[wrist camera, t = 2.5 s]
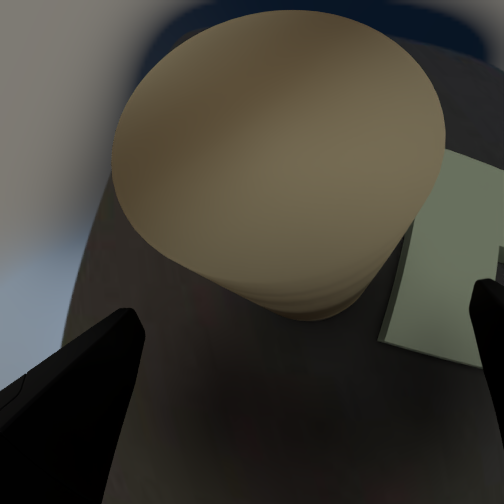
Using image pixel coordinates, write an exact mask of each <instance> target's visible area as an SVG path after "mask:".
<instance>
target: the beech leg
mask: <svg viewBox="0 0 504 504" xmlns="http://www.w3.org/2000/svg"><path fill="white" fill-rule="evenodd" d="M444 152H445V124H444V116H443V112H442V108H441V105H440V102H439V99H438V96H437V94H436V92H435V90H434V87H433V85H432V83H431V81H430V80H429V78H428V77H427V75H426V74H425V72H424V71H423V70H422V68H421V67H420V66H419V64H418V63H417V62H416V61H415V60H414V59H413V58H412V57H411V56H410V55H409V54H408V53H407V52H406V51H405V50H404V49H403V48H401V47H400V46H399V45H398V44H397V43H395V42H394V41H393V40H391V39H390V38H388V37H387V36H385V35H383V34H382V33H380V32H378V31H376V30H374V29H372V28H370V27H368V26H366V25H364V24H361V23H359V22H356V21H354V20H351V19H348V18H344V17H341V16H337V15H333V14H328V13H322V12H315V11H303V10H281V11H270V12H262V13H257V14H252V15H247V16H243V17H239V18H236V19H232V20H229V21H226V22H224V23H221V24H218V25H216V26H214V27H211V28H209V29H207V30H205V31H203V32H201V33H199V34H197V35H195V36H194V37H192V38H190V39H189V40H187V41H185V42H184V43H182V44H181V45H179V46H178V47H177V48H175V49H174V50H173V51H171V52H170V53H169V54H168V55H166V56H165V57H164V58H163V59H162V60H161V61H159V62H158V64H156V66H155V67H154V68H153V69H152V70H151V71H150V72H149V73H148V74H147V75H146V76H145V77H144V79H143V80H142V81H141V83H140V84H139V85H138V86H137V88H136V89H135V91H134V92H133V94H132V96H131V97H130V99H129V100H128V102H127V104H126V106H125V108H124V111H123V113H122V115H121V117H120V120H119V123H118V126H117V129H116V132H115V137H114V142H113V148H112V162H111V164H112V176H113V183H114V187H115V191H116V195H117V198H118V200H119V203H120V205H121V207H122V209H123V212H124V214H125V215H126V217H127V218H128V220H129V221H130V223H131V224H132V226H133V227H134V229H135V230H136V231H137V232H138V233H139V234H140V235H141V236H142V237H143V238H144V239H145V241H146V242H147V243H148V244H150V245H151V246H152V247H154V248H155V249H156V250H158V251H159V252H160V253H162V254H163V255H164V256H166V257H167V258H169V259H171V260H173V261H175V262H177V263H179V264H180V265H182V266H184V267H186V268H188V269H190V270H192V271H194V272H195V273H197V274H199V275H201V276H203V277H205V278H207V279H209V280H211V281H213V282H215V283H216V284H218V285H220V286H222V287H224V288H226V289H228V290H230V291H232V292H234V293H236V294H238V295H240V296H242V297H244V298H246V299H248V300H250V301H252V302H254V303H256V304H258V305H260V306H262V307H264V308H266V309H268V310H270V311H272V312H274V313H276V314H278V315H280V316H283V317H286V318H289V319H294V320H301V321H321V320H325V319H328V318H331V317H333V316H335V315H337V314H339V313H340V312H342V311H343V310H345V309H346V308H348V307H349V306H350V305H352V304H353V303H354V302H355V301H356V300H357V299H358V298H359V297H360V296H361V294H362V293H363V292H364V291H365V289H366V288H367V287H368V285H369V284H370V283H371V281H372V280H373V278H374V277H375V276H376V274H377V273H378V272H379V270H380V269H381V267H382V266H383V265H384V263H385V262H386V260H387V259H388V257H389V256H390V255H391V253H392V252H393V250H394V249H395V247H396V246H397V244H398V243H399V241H400V240H401V238H402V237H403V235H404V234H405V232H406V231H407V229H408V228H409V226H410V225H411V223H412V222H413V220H414V219H415V217H416V216H417V214H418V212H419V211H420V209H421V208H422V206H423V204H424V203H425V201H426V200H427V198H428V196H429V195H430V193H431V191H432V189H433V187H434V184H435V182H436V180H437V177H438V175H439V173H440V169H441V165H442V161H443V156H444Z"/></svg>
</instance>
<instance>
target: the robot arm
mask: <svg viewBox="0 0 504 504" xmlns="http://www.w3.org/2000/svg"><path fill="white" fill-rule="evenodd" d="M469 315H470V319H471V323H472V327H473V330H474V334H475V338H476V342H477V347H478V351H479V355H480V360H481V364H482V367H483V370H484V374H485V377H486V380H487V383H488V387H489V390H490V394H491V397H492V401H493V405H494V408H495V412H496V416H497V420H498V424H499V429H500V433H501V438H502V443H503V448H504V286H503V285H501V284H499V283H498V282H496V281H494V280H492V279H491V278H485V279H479V280H477V281H476V282H475V284H474V287H473V291H472V295H471V300H470V304H469ZM144 341H145V330H144V328H143V326H142V324H141V322H140V320H139V318H138V316H137V314H136V312H135V310H134V309H132V308H120V309H118V310H116V311H115V312H113V313H112V314H110V315H109V316H107V317H106V318H104V319H103V320H101V321H100V322H99V323H97V324H96V325H94V326H93V327H91V328H90V329H88V330H87V331H85V332H84V333H83V334H81V335H80V336H78V337H77V338H75V339H74V340H72V341H71V342H70V343H68V344H67V345H65V346H64V347H62V348H61V349H59V350H58V351H57V352H56V353H54V354H52V355H51V356H50V357H48V358H47V359H45V360H44V361H42V362H41V363H40V364H38V365H37V366H35V367H34V368H33V369H31V370H30V371H28V372H27V374H24V375H23V376H21V377H20V378H19V379H17V380H16V381H14V382H13V383H11V384H10V385H8V386H7V387H6V388H4V389H3V390H1V391H0V504H101V503H102V499H103V495H104V491H105V487H106V483H107V479H108V475H109V472H110V468H111V464H112V460H113V457H114V453H115V449H116V446H117V442H118V439H119V435H120V432H121V428H122V425H123V422H124V418H125V415H126V412H127V408H128V405H129V402H130V399H131V396H132V392H133V389H134V386H135V382H136V378H137V373H138V368H139V364H140V359H141V355H142V350H143V346H144Z"/></svg>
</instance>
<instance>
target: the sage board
mask: <svg viewBox="0 0 504 504" xmlns="http://www.w3.org/2000/svg"><path fill="white" fill-rule="evenodd" d="M497 262H500V263H502V264H504V171H503V170H500V169H498V168H495V167H493V166H490V165H488V164H485V163H483V162H480V161H478V160H475V159H472V158H470V157H467V156H464V155H461V154H459V153H456V152H453V151H450V150H447V149H445V152H444V156H443V161H442V165H441V169H440V173H439V175H438V177H437V180H436V182H435V184H434V187H433V189H432V191H431V193H430V195H429V196H428V198H427V200H426V201H425V203H424V204H423V206H422V208H421V209H420V211H419V212H418V214H417V216H416V217H415V219H414V220H413V222H412V223H411V225H410V226H409V228H408V229H407V231H406V232H405V237H404V242H403V246H402V251H401V255H400V260H399V264H398V268H397V272H396V276H395V280H394V284H393V288H392V292H391V295H390V299H389V303H388V306H387V310H386V313H385V316H384V320H383V323H382V326H381V330H380V333H379V336H378V339H377V341H379V342H383V343H386V344H390V345H393V346H397V347H400V348H404V349H408V350H411V351H415V352H418V353H422V354H426V355H429V356H433V357H437V358H441V359H445V360H448V361H452V362H456V363H460V364H464V365H468V366H472V367H476V368H480V369H483V367H482V364H481V360H480V355H479V351H478V347H477V342H476V338H475V334H474V330H473V327H472V323H471V319H470V315H469V304H470V300H471V295H472V291H473V287H474V284H475V282H476V281H477V280H479V279H485V278H491V279H492V280H494V281H495V277H496V270H497Z"/></svg>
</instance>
